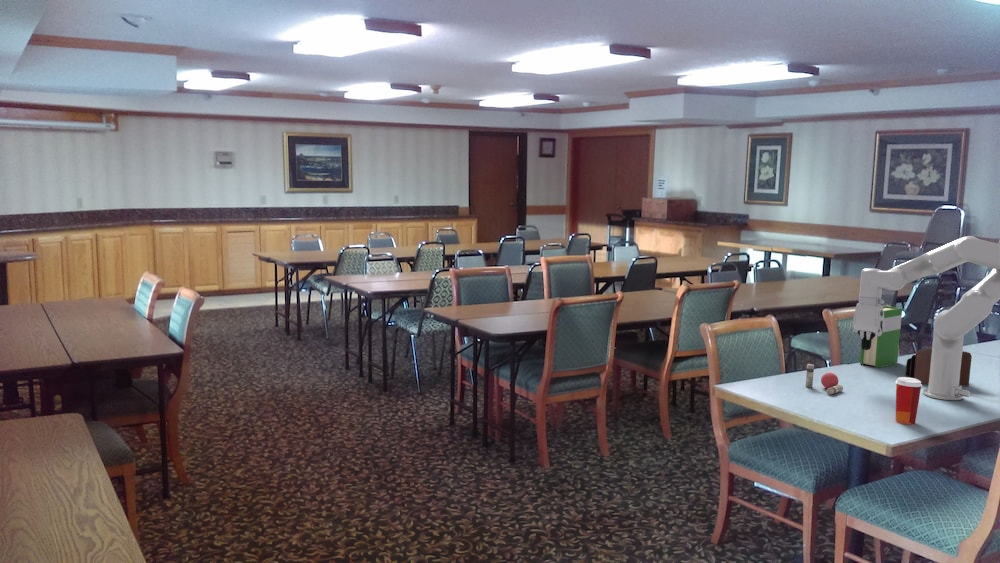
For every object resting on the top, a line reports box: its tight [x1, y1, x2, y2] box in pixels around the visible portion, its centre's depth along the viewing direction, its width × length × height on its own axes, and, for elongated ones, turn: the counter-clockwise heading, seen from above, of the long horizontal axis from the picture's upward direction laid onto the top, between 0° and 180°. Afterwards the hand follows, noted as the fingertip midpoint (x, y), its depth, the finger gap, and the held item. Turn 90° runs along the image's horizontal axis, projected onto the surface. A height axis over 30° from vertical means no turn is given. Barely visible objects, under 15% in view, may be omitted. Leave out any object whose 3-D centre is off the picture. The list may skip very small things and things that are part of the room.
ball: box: [820, 372, 839, 389], centre depth 287 cm, size 6×6×6 cm
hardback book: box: [859, 305, 903, 369], centre depth 329 cm, size 18×7×24 cm, turn 128°
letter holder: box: [904, 348, 972, 387], centre depth 300 cm, size 10×20×14 cm, turn 80°
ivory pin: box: [825, 384, 844, 396], centre depth 281 cm, size 2×2×8 cm
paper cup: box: [895, 376, 923, 426], centre depth 247 cm, size 8×8×14 cm
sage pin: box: [805, 363, 815, 389], centre depth 289 cm, size 2×2×8 cm
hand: (865, 349), depth 291 cm, fingers closed
